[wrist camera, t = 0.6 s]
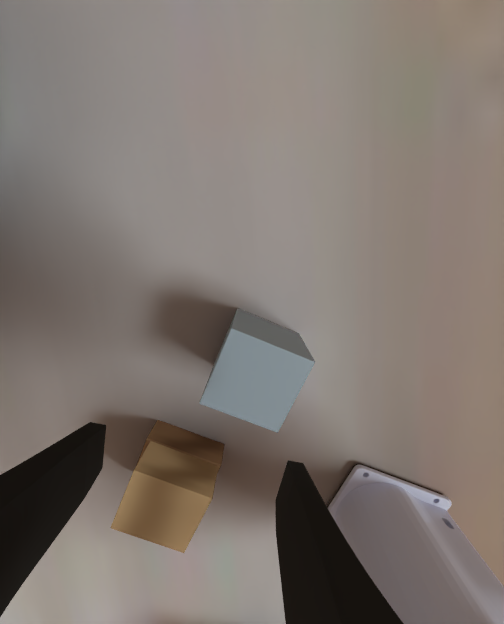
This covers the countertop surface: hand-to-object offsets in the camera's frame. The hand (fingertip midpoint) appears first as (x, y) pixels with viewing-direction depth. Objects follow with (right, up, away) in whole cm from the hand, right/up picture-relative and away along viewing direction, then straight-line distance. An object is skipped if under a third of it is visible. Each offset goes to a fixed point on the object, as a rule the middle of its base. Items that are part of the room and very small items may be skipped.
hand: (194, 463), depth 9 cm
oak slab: (-4, -7, +9) cm, 13 cm away
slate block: (+2, +3, +9) cm, 10 cm away
